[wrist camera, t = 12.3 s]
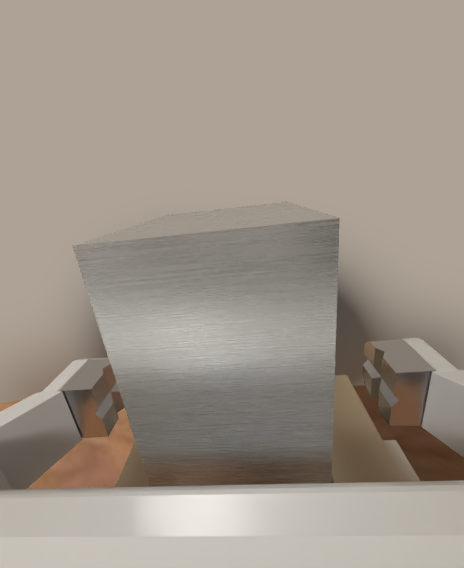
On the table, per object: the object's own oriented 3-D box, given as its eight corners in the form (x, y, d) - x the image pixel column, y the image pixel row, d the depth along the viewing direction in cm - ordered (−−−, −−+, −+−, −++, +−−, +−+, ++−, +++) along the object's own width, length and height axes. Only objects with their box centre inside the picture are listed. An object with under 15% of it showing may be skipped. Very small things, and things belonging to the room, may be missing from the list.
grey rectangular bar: (212, 679, 9) (72, 245, 4) (223, 516, 14) (166, 215, 9) (325, 684, 9) (339, 218, 4) (297, 515, 14) (286, 201, 8)
